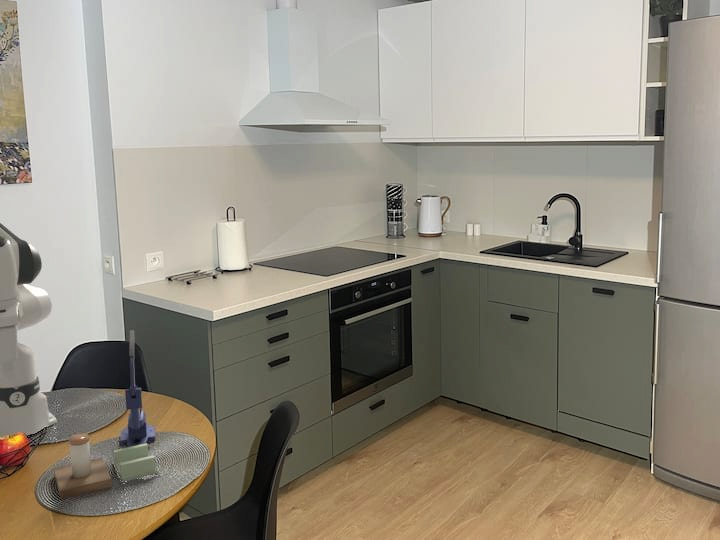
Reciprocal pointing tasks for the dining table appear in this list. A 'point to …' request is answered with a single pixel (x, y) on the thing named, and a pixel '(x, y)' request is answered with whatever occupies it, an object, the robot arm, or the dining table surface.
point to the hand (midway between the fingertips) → (7, 370)
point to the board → (82, 480)
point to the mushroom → (80, 455)
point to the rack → (134, 462)
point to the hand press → (135, 410)
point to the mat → (138, 480)
